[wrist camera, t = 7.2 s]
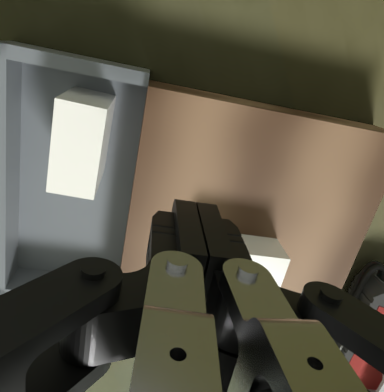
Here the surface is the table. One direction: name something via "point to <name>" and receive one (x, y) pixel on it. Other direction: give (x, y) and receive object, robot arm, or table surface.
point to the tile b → (268, 255)
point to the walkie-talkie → (377, 299)
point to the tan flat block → (259, 176)
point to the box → (39, 158)
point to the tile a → (79, 142)
